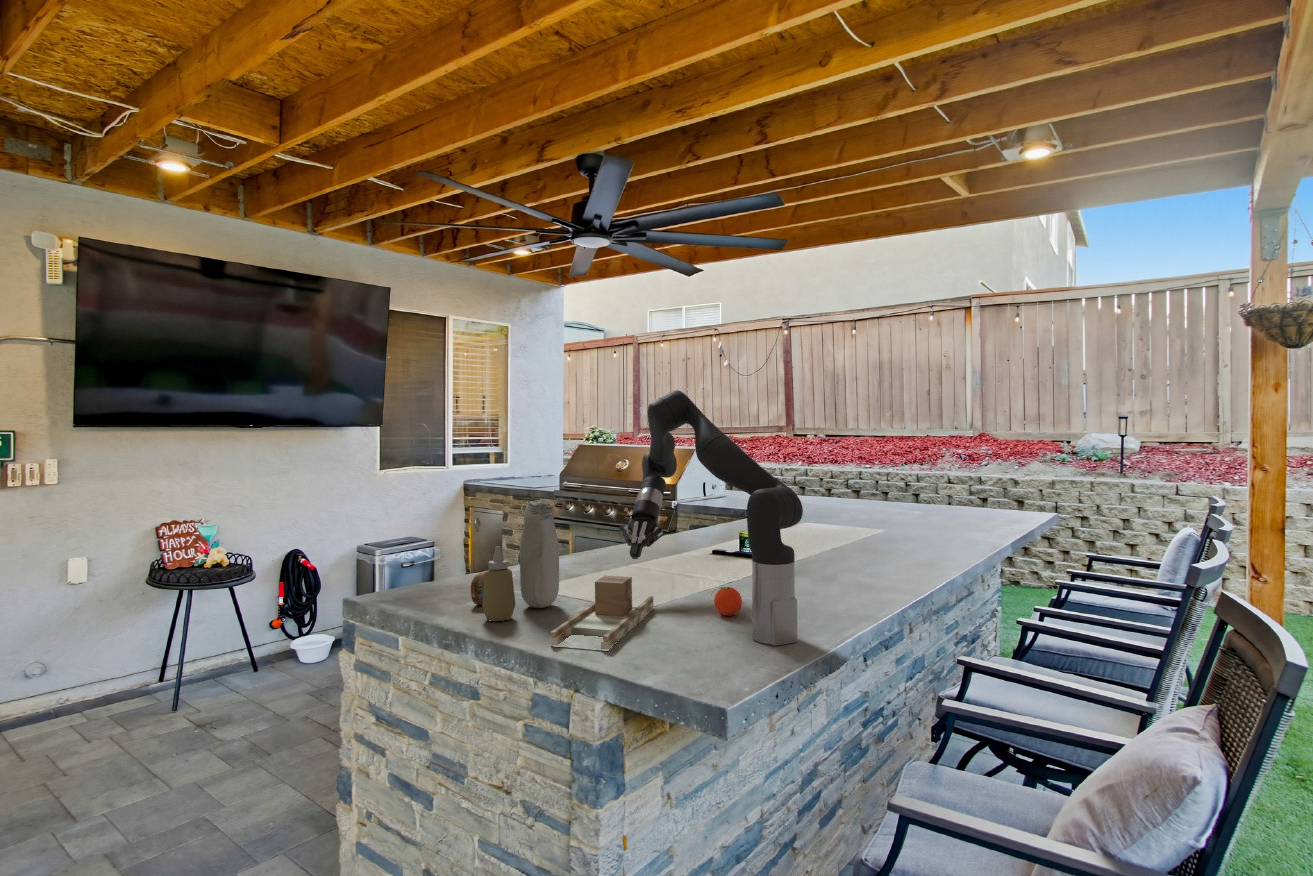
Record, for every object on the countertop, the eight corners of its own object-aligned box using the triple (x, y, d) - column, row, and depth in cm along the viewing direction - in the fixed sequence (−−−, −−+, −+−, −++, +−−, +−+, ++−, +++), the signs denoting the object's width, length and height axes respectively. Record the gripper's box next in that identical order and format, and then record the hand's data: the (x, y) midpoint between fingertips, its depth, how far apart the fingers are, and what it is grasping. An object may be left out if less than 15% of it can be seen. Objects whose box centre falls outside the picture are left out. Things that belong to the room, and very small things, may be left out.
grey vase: (563, 609, 174) (562, 501, 174) (524, 613, 171) (522, 503, 170) (554, 600, 184) (553, 497, 183) (517, 604, 180) (515, 499, 179)
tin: (479, 609, 176) (478, 576, 176) (468, 608, 177) (468, 576, 177) (508, 595, 190) (508, 565, 190) (499, 594, 191) (498, 564, 191)
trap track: (606, 605, 177) (606, 593, 177) (653, 609, 174) (653, 596, 174) (550, 646, 145) (550, 631, 145) (607, 651, 141) (607, 636, 141)
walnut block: (605, 607, 168) (605, 575, 168) (632, 609, 166) (631, 576, 166) (595, 615, 162) (594, 581, 162) (622, 617, 160) (622, 583, 160)
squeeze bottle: (502, 613, 172) (501, 542, 171) (522, 618, 166) (521, 545, 166) (475, 620, 165) (474, 547, 165) (495, 626, 160) (494, 550, 160)
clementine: (706, 616, 166) (705, 588, 166) (715, 609, 173) (715, 582, 173) (737, 620, 163) (736, 591, 163) (745, 613, 169) (745, 584, 169)
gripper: (672, 516, 193) (660, 566, 182) (628, 514, 197) (614, 564, 186) (667, 499, 188) (654, 550, 177) (622, 497, 192) (607, 547, 180)
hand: (634, 557), depth 181 cm, fingers closed
